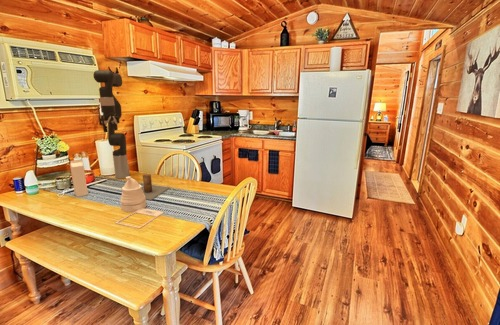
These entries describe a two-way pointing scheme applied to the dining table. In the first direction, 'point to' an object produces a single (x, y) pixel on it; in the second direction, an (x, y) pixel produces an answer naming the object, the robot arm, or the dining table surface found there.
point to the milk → (78, 178)
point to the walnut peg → (147, 183)
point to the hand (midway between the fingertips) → (110, 131)
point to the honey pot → (132, 196)
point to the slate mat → (154, 192)
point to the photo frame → (144, 212)
